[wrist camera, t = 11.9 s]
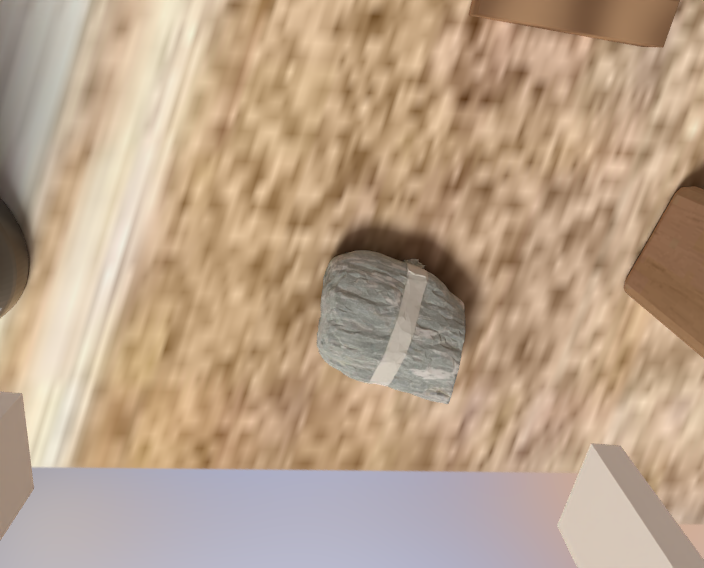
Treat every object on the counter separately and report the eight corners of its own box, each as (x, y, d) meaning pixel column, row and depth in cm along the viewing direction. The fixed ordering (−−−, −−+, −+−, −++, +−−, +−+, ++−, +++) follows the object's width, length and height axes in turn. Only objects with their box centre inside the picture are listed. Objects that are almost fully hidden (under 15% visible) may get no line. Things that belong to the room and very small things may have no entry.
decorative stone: (300, 333, 47) (296, 371, 42) (338, 229, 44) (339, 255, 38) (435, 372, 50) (448, 413, 44) (482, 277, 46) (503, 308, 40)
